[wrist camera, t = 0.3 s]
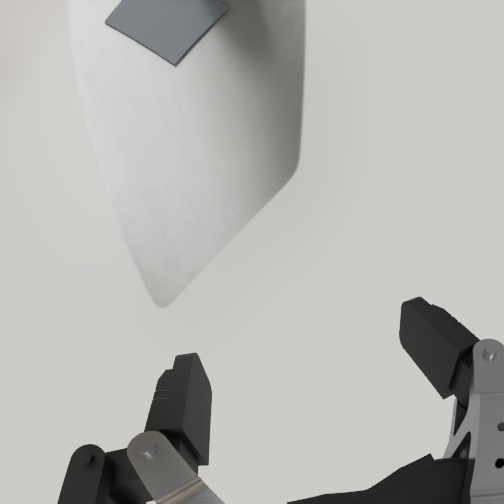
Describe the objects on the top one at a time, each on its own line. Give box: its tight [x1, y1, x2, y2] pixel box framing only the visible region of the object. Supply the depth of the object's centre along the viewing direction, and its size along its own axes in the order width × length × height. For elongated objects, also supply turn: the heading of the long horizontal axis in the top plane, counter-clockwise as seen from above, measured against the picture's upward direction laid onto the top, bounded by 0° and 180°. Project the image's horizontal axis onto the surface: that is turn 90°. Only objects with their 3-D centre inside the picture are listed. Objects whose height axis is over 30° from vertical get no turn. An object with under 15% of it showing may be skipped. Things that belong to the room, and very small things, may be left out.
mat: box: [105, 0, 230, 65], centre depth 22 cm, size 12×10×1 cm
